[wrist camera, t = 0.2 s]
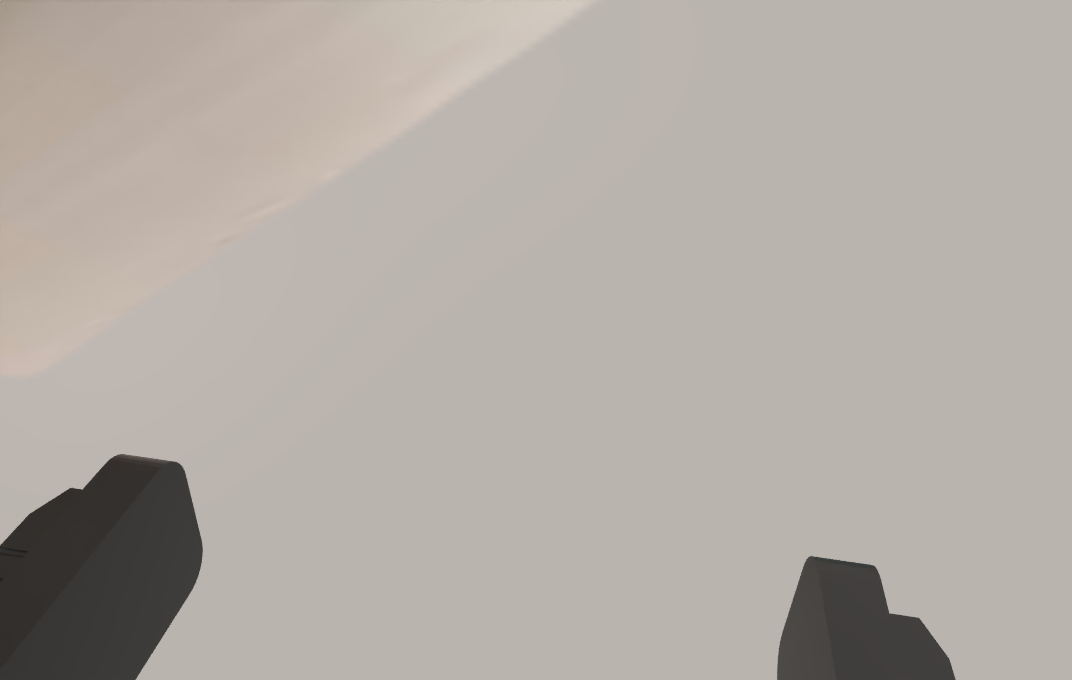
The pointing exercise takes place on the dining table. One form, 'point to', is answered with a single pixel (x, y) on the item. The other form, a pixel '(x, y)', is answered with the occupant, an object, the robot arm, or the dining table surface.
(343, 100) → the dining table surface
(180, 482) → the robot arm
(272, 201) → the dining table surface
